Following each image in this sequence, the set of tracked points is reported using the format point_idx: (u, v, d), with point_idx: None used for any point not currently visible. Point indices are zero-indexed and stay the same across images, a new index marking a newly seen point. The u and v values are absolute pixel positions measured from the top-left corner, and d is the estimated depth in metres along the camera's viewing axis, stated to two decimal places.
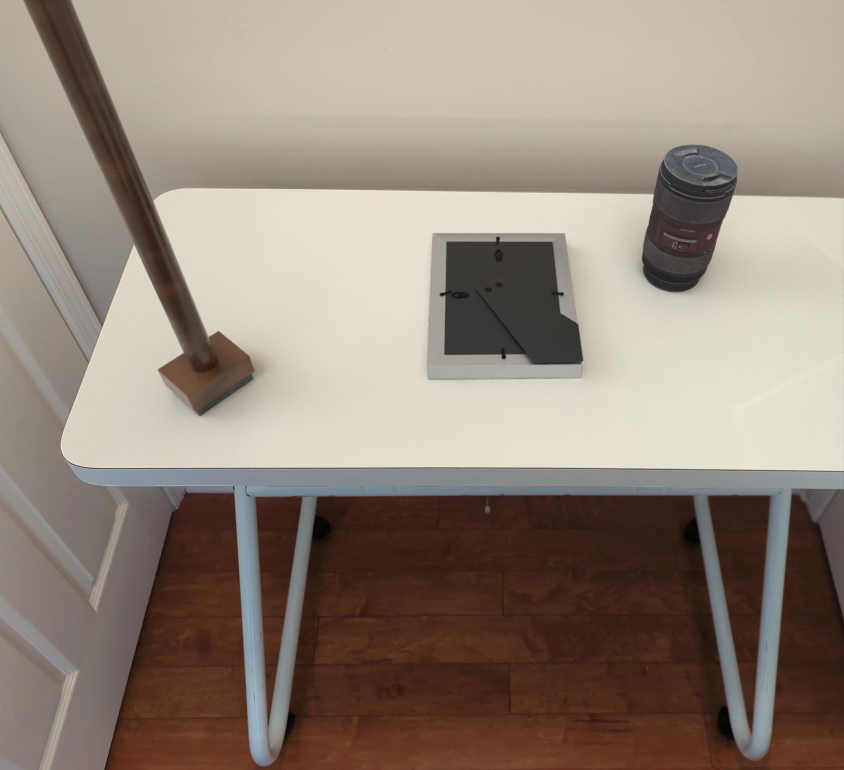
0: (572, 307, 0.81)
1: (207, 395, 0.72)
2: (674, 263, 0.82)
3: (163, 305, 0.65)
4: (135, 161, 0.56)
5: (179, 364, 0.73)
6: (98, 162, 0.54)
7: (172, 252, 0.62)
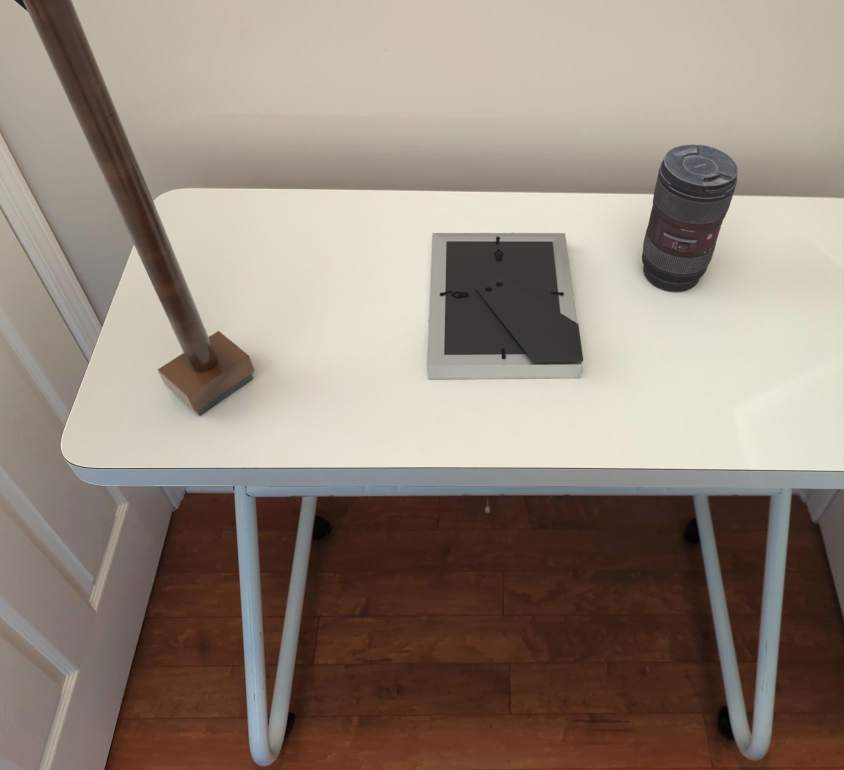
0: (572, 307, 0.81)
1: (207, 395, 0.72)
2: (674, 263, 0.82)
3: (163, 305, 0.65)
4: (135, 161, 0.56)
5: (179, 364, 0.73)
6: (98, 162, 0.54)
7: (172, 252, 0.62)
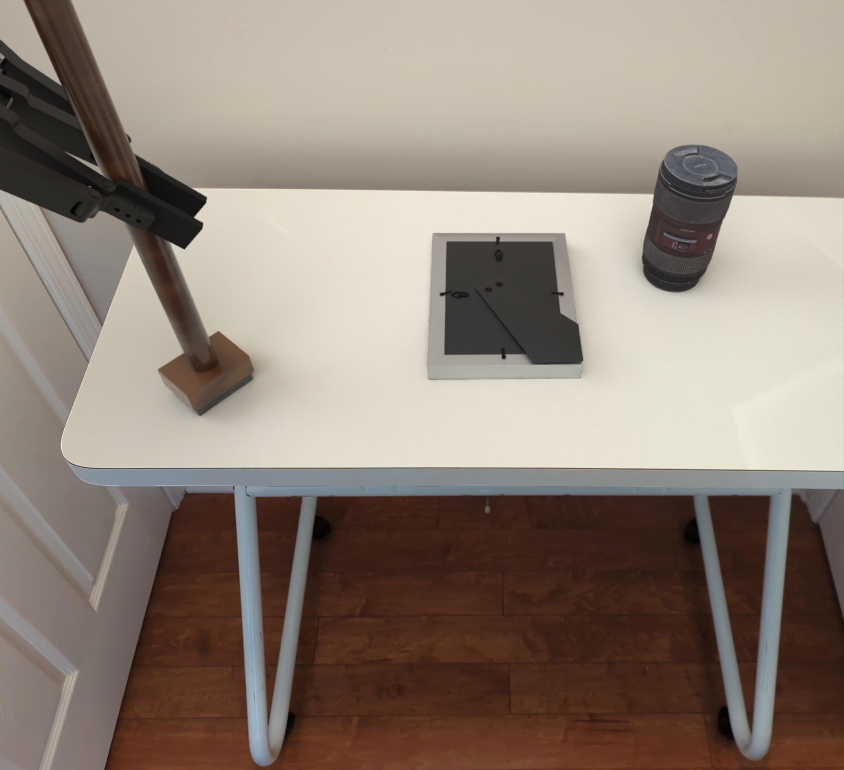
0: (572, 307, 0.81)
1: (207, 395, 0.72)
2: (674, 263, 0.82)
3: (163, 305, 0.65)
4: (135, 161, 0.56)
5: (179, 364, 0.73)
6: (98, 162, 0.54)
7: (172, 252, 0.62)
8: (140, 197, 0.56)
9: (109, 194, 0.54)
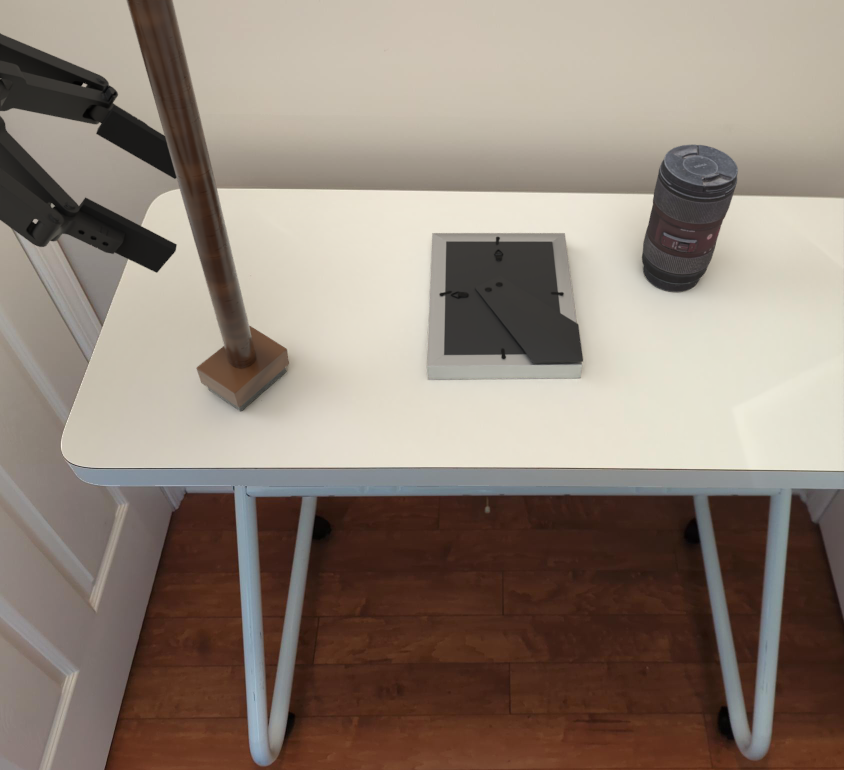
0: (572, 307, 0.81)
1: (250, 390, 0.73)
2: (674, 263, 0.82)
3: (216, 304, 0.65)
4: (210, 163, 0.56)
5: (217, 361, 0.72)
6: (177, 165, 0.54)
7: (231, 251, 0.62)
8: (107, 218, 0.52)
9: (68, 215, 0.50)
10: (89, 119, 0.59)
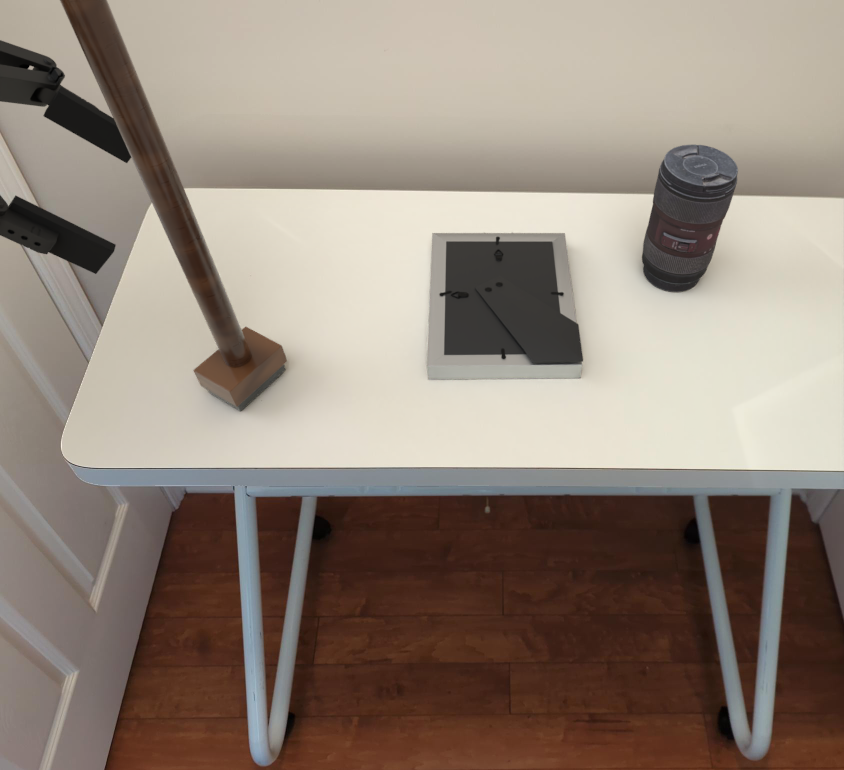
0: (572, 307, 0.81)
1: (247, 389, 0.72)
2: (674, 263, 0.82)
3: (199, 300, 0.66)
4: (168, 153, 0.56)
5: (214, 362, 0.73)
6: (134, 157, 0.55)
7: (206, 244, 0.63)
8: (39, 217, 0.50)
9: None
10: (37, 102, 0.58)
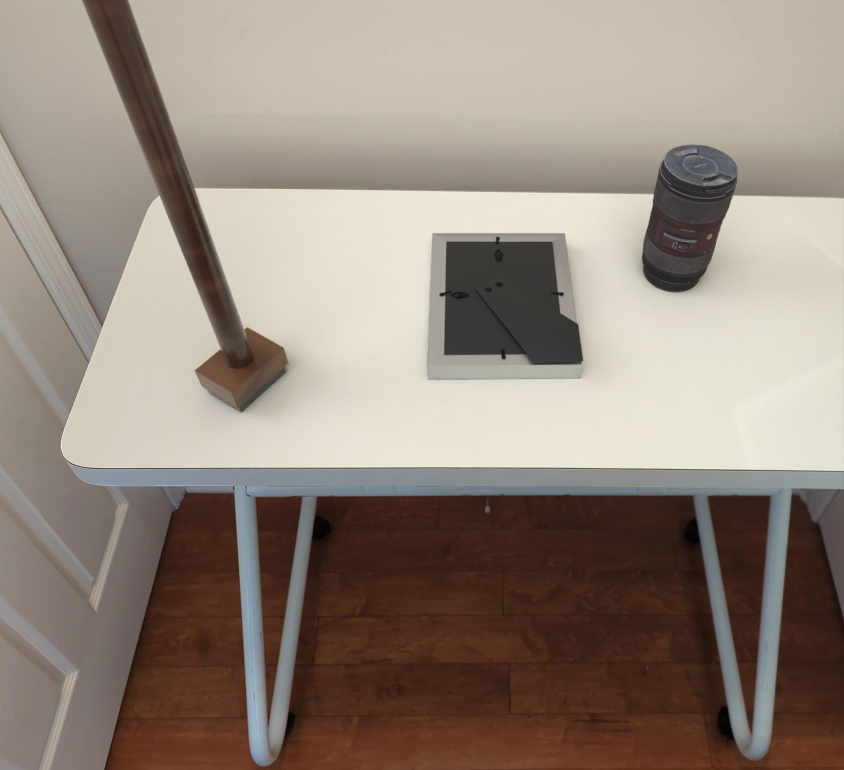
0: (572, 307, 0.81)
1: (248, 390, 0.73)
2: (674, 263, 0.82)
3: (205, 302, 0.66)
4: (183, 157, 0.56)
5: (215, 363, 0.73)
6: (149, 160, 0.55)
7: (214, 247, 0.63)
8: None
9: None
10: None
